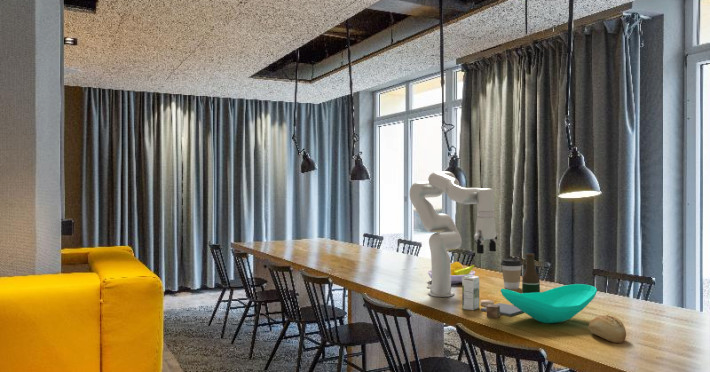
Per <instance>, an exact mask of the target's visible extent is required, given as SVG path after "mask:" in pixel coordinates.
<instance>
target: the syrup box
mask: <svg viewBox="0 0 710 372" xmlns="http://www.w3.org/2000/svg"><path fill="white" fill-rule="evenodd" d="M461 284H462V285H461V289H462V291H461V295H462V296H461V299H462V301H461V304H462V308H461V309H463V310H468V311H474V310H478V309H480V277H479V276H478V275H474V276H472V275H468V276H465V277H462V283H461Z"/></svg>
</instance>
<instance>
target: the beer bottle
mask: <svg viewBox="0 0 710 372" xmlns="http://www.w3.org/2000/svg"><path fill="white" fill-rule="evenodd" d="M525 256H526V269H525V271H524V273H523V275H522V279H521V282H522V283H521V286H522V288H521V291H522V292H521V293H536V292H541V285H540V284H541V280H540V277H539V275H538V273H537V271H536V264H535V257H536V255H535V253H533V252H532V253H531V252H528V253H526V254H525Z"/></svg>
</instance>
